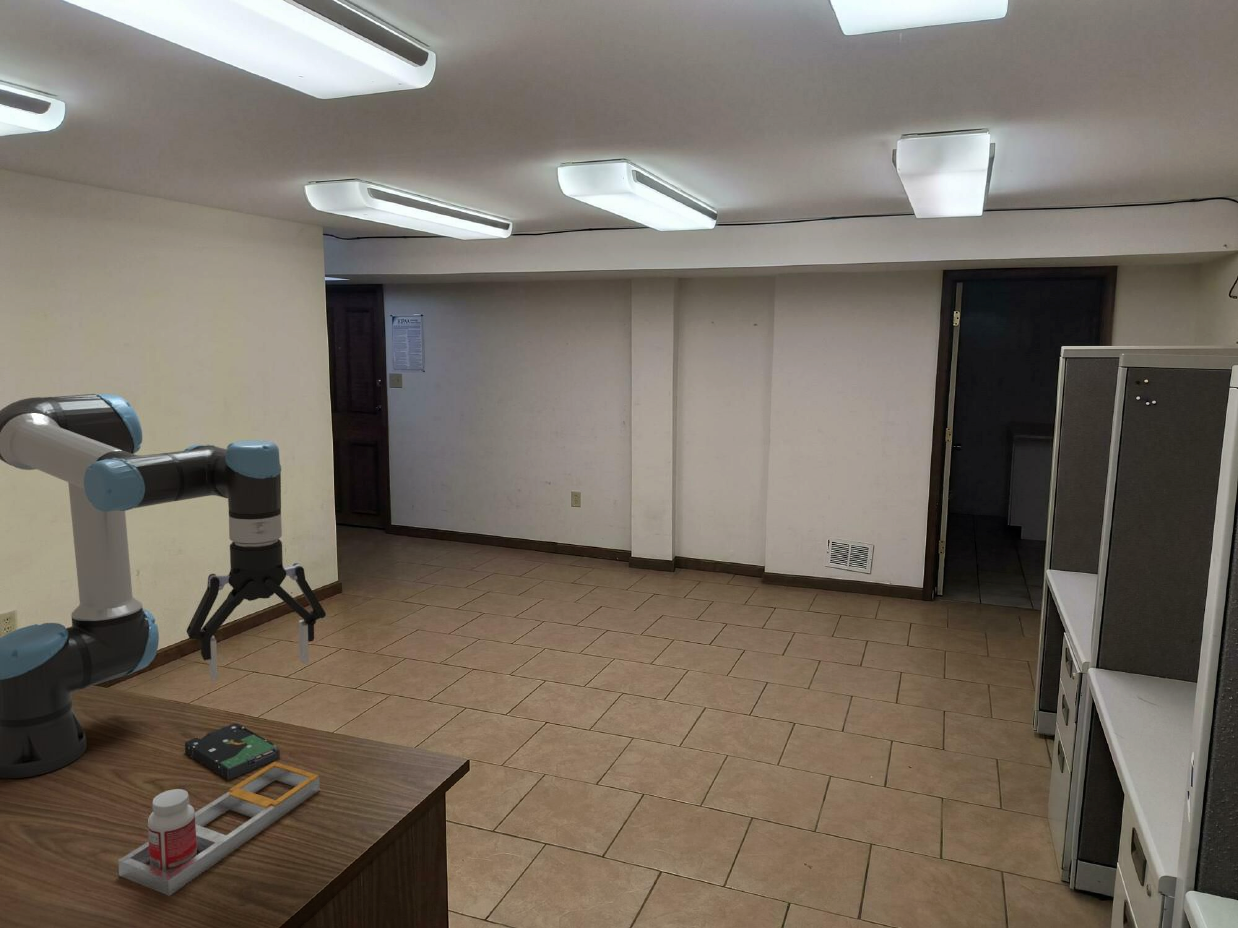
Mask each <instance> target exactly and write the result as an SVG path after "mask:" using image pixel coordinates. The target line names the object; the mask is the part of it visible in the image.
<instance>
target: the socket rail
mask: <svg viewBox="0 0 1238 928" xmlns="http://www.w3.org/2000/svg"><path fill="white" fill-rule="evenodd" d="M275 781H277V782H280V783H283V784H286V785H289V786H291V787H292V786H293V788H292V789H290V790H289V791H287V792H286V793H284V794H283V795H281V796H280V797H278V798H276V799H274V798H273V799H272V798H271V797H267V796H263V795H261V794H257V793H258V792H259V791H260V790H262V789H264V788H265V787H267V786H268V785H270V784H271V783H273V782H275ZM319 791H320V775H319V774H316V773H314V772H310V771H307V770H303V769H300V768H296V767H294V766H290V765H287V764H284V763H281V762H277V761H272V762H270V764H267V766H264V768H262V769H260V770H259V771H257V772H255V773H253V774H252V775H251V776H249V777H247V778H246V779H245V778H244V780H242V781H241V782H239V783H238V784H236V785H234V786H233V787H231V788H229V790H228V791H227V792H226V793H224V794H223V795H220V796H219V797H218V798H216V799H214V800H213V801H211V802H210V803H208V804H207V805H204V806H203V807H202V808H200V809H198V810H196V811H195V825H196V843H197V850H198V851H197V852H200V853H197V856H195V857H194V858H192V859H191V860H189V861H188V862H186V863H185V864H183V865H182V866H180V867H179V868H177V869H176V870H175V871H173V872H172V873H170V874H168V873H166V872H163V871H161V870H158V869H156V868H153V867H151V866H150V865H148V863H150V854H149V840H148V841H147V842H145V843H144V844H142V845H140V846H139V847H138V848H137V847H136V848H135V849H134V850H132V851H131V852H129V853H128V854H126V855H125V856H123V857H120V858H119V859H118V875H119V876H118V877H122V878H124V879H127V880H129V881H131V882H134V883H136V884H139V885H141V886H143V887H146V888H149V889H151V890H153V891H156V892H159V893H161V894H164V895H165V896H168V897H170V896H172V895H173V894H175V893H176V892H177V891H179V890H180V889H181V888H183V887H185V886H186V885H187V884H189V883H190V882H192V881H193V880H194V879H196V878H197V877H199V876H200V875H201V874H202V872H203V873H204V872H206V871H207V870H208V869H210V868H211V867H212V866H214V865H216V864H217V863H218V862H220V861H221V860H222V858H223V859H224V858H225V857H227V856H228V855H230V854H232V853H233V852H234V851H235V850H237V849H238V848H239V847H241V846H242V845H244V844H245V843H247V842H248V841H249V840H251V839H252V838H253V837H255V836H257V835H258V834H260V833H261V832H263V830H265V829H267V828H268V827H270V825H272V824H274V823H276V821H278V820H279V819H281V818H282V817H284V816H285V815H286V814H287V813H290V812H291V811H292V810H293V809H295V808H296V807H297V806H299V805H300V804H302V803H303V802H304V801H306V800H307V799H309V798H310V797H312V796H313V795H315V794H316V793H317V792H319ZM226 811H227V812H228V811H233V812H235V813H239V814H241V815H244V816H247V817H250V819H248V820H247V821H245V822H244V823H242V824H241V825H239V826H238V827H236V828H235V829H233V830H232V831H230V832H229V833H228V834H223V833H220V832H218V831H215V830H212V829H209V828H207V827H205V826H206V825H208V824H209V823H211V822H212V821H214V820H216V819H218V818H220V816H221V815H223V814H225V813H227V812H226ZM205 870H206V871H205ZM199 874H200V875H199ZM196 876H197V877H196ZM195 877H196V878H195ZM192 879H193V880H192ZM189 881H190V882H189ZM188 882H189V883H188ZM186 883H187V884H186ZM185 884H186V885H185ZM178 889H179V890H178Z"/></svg>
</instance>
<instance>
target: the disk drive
mask: <svg viewBox="0 0 1238 928" xmlns="http://www.w3.org/2000/svg"><path fill="white" fill-rule="evenodd" d="M184 751H185V752H184V753H185V754H186V753H187V754H186V755H188V754H189V755H188V757H190V756H192V757H193V758H192V757H191V758H192V759H194V758H195V759H197V760H198V761H197V760H196V761H197V762H199V761H200V762H202V763H203V764H205V765H206V766H205V765H204V766H205V767H207V768H208V767H209V768H208V769H210V768H211V769H212V770H211V769H210V770H211V771H213V772H214V771H215V773H216V772H217V773H216V774H218V776H220V775H221V776H220V777H222V776H223V777H222V778H224V777H225V778H226V779H225V778H224V779H225V780H227V779H228V780H227V781H231V780H233V779H235V778H237V776H238V775H240V776H242V775H244V774H246V772H247V773H249V772H251V771H253V770H255V769H259V768H260V767H263V766H265V765H268V764H269V762H270V763H273V762H275V761H277V760H278V759H281V757H280V755H281V752H280V749H278V746H277V745H275V743H273V742H272V741H269V740H267V739H266V738H264V737H263V736H260V735H259V734H257V733H255V732H254V731H251V730H250V729H249V728H247V727H245V726H243V725H241V724H239V723H237V722H234V723H231V724H228V725H226V726H224V727H222V728H219V729H216V730H213V731H211V732H208V733H206V734H205V735H204V736H203V737H202V738H198V737H195V738H193V739H192V738H191V739H190V740H186V741H185V742H184ZM195 759H194V760H195ZM200 762H199V763H200ZM202 763H201V764H202ZM203 764H202V765H203ZM241 774H242V775H241ZM234 777H235V778H234ZM238 777H239V776H238ZM232 778H233V779H232ZM230 779H231V780H230Z"/></svg>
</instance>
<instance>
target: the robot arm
mask: <svg viewBox="0 0 1238 928" xmlns="http://www.w3.org/2000/svg"><path fill="white" fill-rule="evenodd" d="M142 444H143V430H142V425H141V422H140V420H139V416H138V415H137V413H136V411H135V409H134V408H133V407H132V405H131V404H130V402H128V401H127V400H126V399H125V398H124V397H122V396H120V395H117V394H103V393H102V394H100V393H91V394H90V393H87V394H76V395H75V394H74V395H73V394H72V395H62V396H46V397H41V396H39V397H37V396H36V397H29V398H23V399H19V400H17V401H13V402H11V403H9V404H8V405H6V406H5V407H3V408H1V409H0V461H2V462H3V463H5V464H6V465H9V466H12V467H14V468H16V469H19V470H25V471H31V470H37V471H40V472H43V473H45V474H47V475H50V476H52V477H55V478H56V479H57V478H58V479H60V480H61V481H65V482H66V483H67V484H68V492H69V504H70V516H71V523H72V526H71V527H72V536H73V545H74V557H75V565H76V567H75V568H76V577H77V578H76V579H77V588H78V597H79V598H78V599H79V605H78V606H77V607H76V608H75V609H74V610H73V611H72V612H71V614H70V615H71V626H69V627H65V625H63V624H61V623H57V622H44V623H42V624H32V625H28V626H24V627H20V628H18V629H15V630H13V631H11V632H8V633H6V634H4V635H3V636H1V637H0V779H22V778H28V777H35V776H40V775H44V774H47V773H50V772H53V771H56V770H59V769H61V768H64V767H65V766H68V765H70V764H71V763H74V762H75V761H76V760H77V759H79V758H80V757H81V756H82V755H83V754H84V753H85V752H86V749H87V735H86V732H85V731H84V729H83V727H82V724H81V723H80V721H79V719H78V717H77V715H76V713H75V710H74V709H73V699H72V693H74V692H77V691H80V690H83V689H86V688H90V687H92V686H95V685H99V684H101V683H104V682H108V681H111V680H115V679H117V678H120V677H126V676H129V675H132V674H133V673H135V672H137V671H141V670H143V669H145V668H146V667H148V666H149V665H150V664H151V662H152V661H153V660H154V659H155V657H156V655H157V652H158V649H159V642H160V641H159V640H160V636H159V635H160V634H159V628H158V624H156V618H155V617H154V615H153V614H152V613H151V612H150V611H149V610H147V609H145V608H143V603H142V602H141V601H140V600H138V599H136V598H135V597H134V596H133V587H132V577H131V575H132V574H131V564H130V562H131V561H130V554H129V541H128V528H127V517H126V511H129V510H133V509H137V508H145V507H150V506H154V505H160V504H165V503H173V502H180V501H185V500H191V499H196V498H204V497H210V496H216V497H221V498H225V499H227V503H228V530H229V533H228V536H229V540H230V541H231V543H230V544H229V560H230V563H229V564H230V569H229V570H230V571H229V573H228V575H217V574H216V573H210V574H209V575H208V577H207V586H206V590H205V592H204V593H203V596H202V598H201V600H200V602H199V604H198V605H197V608H196V610H195V612H194V614H193V616H192V618H191V620H190V621H189V624H188V626H187V628H186V633H187V635H188V638H189V639H190V640H199V641H200V655H201V658H202V659H203V661H208V670H209V671H208V673H209V674H208V675H209V677H210V679H211V681H212V682H215V681H216V682H217V681H219V678H218V677H219V676H218V652H217V651H218V650H217V649H218V647H217V639H216V638H215V636H214V635H215V634H216V632H217V631H219V629H220V628H221V627H222V625H223V624H224V623H225V622H226V620H227V619H228V618H229V617H230V615H231V614H232V613H233V612H234V611H235V609H236V608H237V607H238V606H239V605H241V604H242V602H243V601H244V600H246V601H247V600H248V602H250V601H255V600H259V599H270V598H271V597H272V596H273V595H276V596H277V597H278V598H279V599H280V600H282V601H283V602H284V603H285V604H286V605H287V606H289V607H290V608H291V609H292V610H293V611H294V612H295V613H296V614H297V615H298V616H299V617H301V618H302V619H301V620H298V648H299V650H298V652H299V656H298V657H299V659H300V661H301V663H303V664H304V665H305V664H309V642H313V641H314V640H315V625H316V623H317V620H319V619H324V618H325V617H326V614H327V613H326V611H325V609H324V608H323V606H322V605H321V603H320V601H319V599H318V598H317V596H316V594H315V593H314V591H313V590H312V588H311V587H310V585H309V583H308V581H307V580H306V573H305V569H304V567H303V566H302V565H301V564H299V563H298V562H295V563H293V564H292V566H289V567H288V566H287V567H284V565H283V564H284V563H283V559H284V558H283V541H281V539H280V538H282V536H283V531H282V530H283V529H282V477H281V476H282V474H281V473H282V465H281V462H280V461H281V460H280V450H279V447H278V445H277V444H276V443H274V442H273V441H267V440H259V439H258V440H257V439H255V440H254V439H253V440H238V441H233V442H230V443H229V444H228V445H227V447H226V448H223V447H220V446H215V445H214V444H195V445H194V444H193V445H191V446H189V447H187V448H185V449H184V450H180V451H179V450H178V451H172V452H171V451H170V452H163V453H153V454H145V455H143V454H142V455H140V454H139V455H137V454H136V453H137V452H138V451H139V450H140V449H141V445H142ZM287 576H289V578H290V579H291V580H293V581H295V583H296V584H297V586H298V587H299V588H300V591H301V592H302V594H303V596H304V597H305V599H306V601H307V603H309V605H310V607H311V609H312V610H311V611H308V610H307V609H306V608H305V607H304V606H303V605H302V604H300V602H298V601H297V600H296V599H295V598H294V597H293V596H292V595H290V593H289V592H287V591H286V590H285V589H284V588H283V587H282V586H281V585H282V583H283V581H284V580H285V578H286V577H287ZM226 585H229V586H230V587H232V590H231V591H230V592H229V593H228V595H227V597H226V599H224V601H223V602H222V604H221V605H220V606H219V607H218V609H216V611H215V612H214V613H213V614H212V615H211V616H210V618H209V619H208V620H207V618H208V616H209V614H210V612H211V611H212V608H213V606H214V604H215V603H216V599H217V597H218V595H219V591H222V590H223V589H224V587H225V586H226ZM206 620H207V622H206ZM205 622H206V623H205Z"/></svg>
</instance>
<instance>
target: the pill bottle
mask: <svg viewBox="0 0 1238 928" xmlns="http://www.w3.org/2000/svg"><path fill="white" fill-rule="evenodd" d="M189 803H190V797H189V793H188V791H187V790H185V789H181V788H179V789H178V788H176V789H175V788H174V789H169V790H164V791H163V792H161V793H159V794H158V795H156V796H155V797H153V800H152V812H151V813H150V815H149V816H148V819H147V831H148V833H147V834H148V836H147V837H148V841H149V854H150V861H149V866H151V867H153V868H156V869H158V870H161V871H163V872H166V873H168V874H170V873H172V872H173V871H175V870H176V869H177V868H179V867H180V866H182V865H183V864H185V863H186V862H188V861H189V860H191V859H192V858H194V857H195V856H197V855H198V851H197V843H196V825H195V812H196V811H195V808H194V807H193V806H192V805H191V804H189Z"/></svg>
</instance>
